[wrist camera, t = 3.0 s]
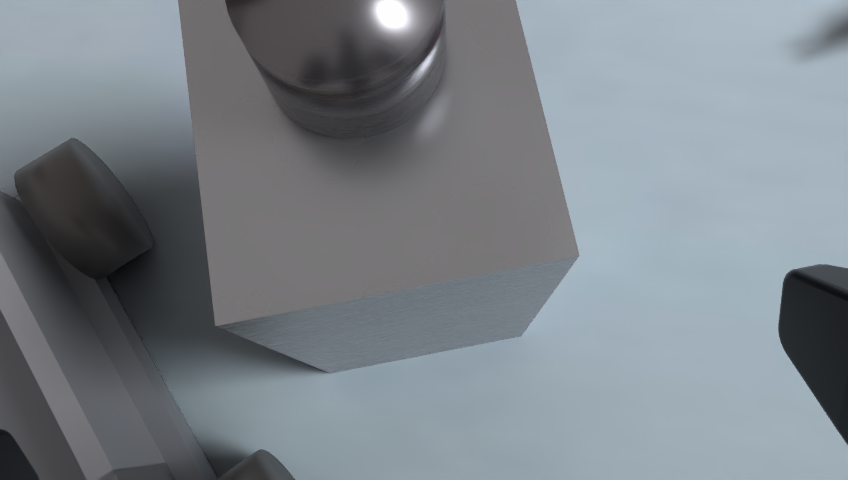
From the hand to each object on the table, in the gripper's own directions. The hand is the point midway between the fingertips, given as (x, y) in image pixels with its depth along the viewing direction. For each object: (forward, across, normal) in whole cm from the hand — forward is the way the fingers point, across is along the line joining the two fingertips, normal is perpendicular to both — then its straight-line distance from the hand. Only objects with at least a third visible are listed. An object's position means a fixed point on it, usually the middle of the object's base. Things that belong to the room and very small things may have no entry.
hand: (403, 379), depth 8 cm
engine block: (+12, 0, -6) cm, 13 cm away
